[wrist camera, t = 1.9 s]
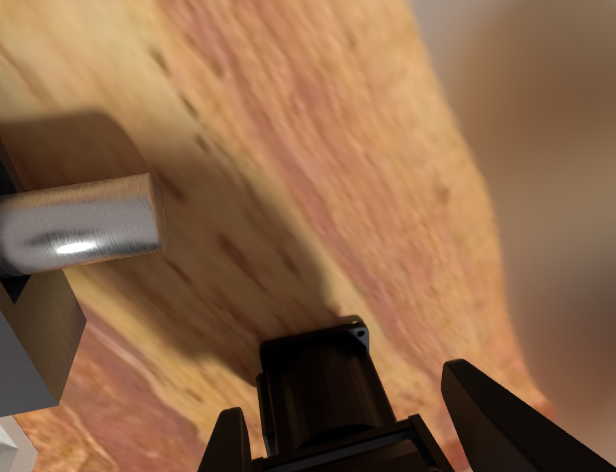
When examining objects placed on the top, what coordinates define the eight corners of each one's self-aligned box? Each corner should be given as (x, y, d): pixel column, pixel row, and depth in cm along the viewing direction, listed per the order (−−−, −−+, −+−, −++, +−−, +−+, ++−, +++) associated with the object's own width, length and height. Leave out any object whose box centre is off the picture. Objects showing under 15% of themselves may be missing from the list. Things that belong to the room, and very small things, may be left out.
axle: (147, 156, 18) (144, 211, 16) (168, 212, 20) (168, 266, 18) (-182, 205, 17) (-233, 273, 14) (-118, 259, 19) (-153, 323, 17)
